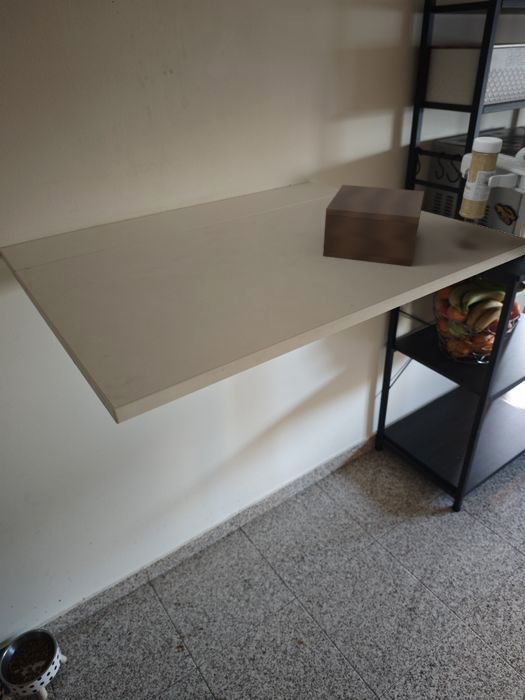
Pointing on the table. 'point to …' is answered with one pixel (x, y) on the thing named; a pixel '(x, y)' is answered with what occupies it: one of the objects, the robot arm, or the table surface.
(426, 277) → the table surface
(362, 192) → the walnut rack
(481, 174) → the sprinkles bottle
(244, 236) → the table surface
